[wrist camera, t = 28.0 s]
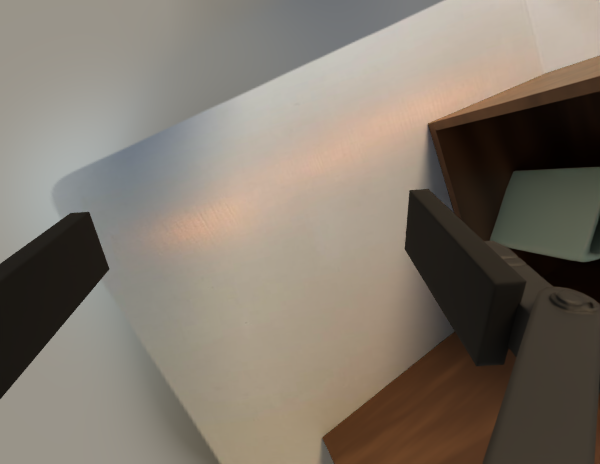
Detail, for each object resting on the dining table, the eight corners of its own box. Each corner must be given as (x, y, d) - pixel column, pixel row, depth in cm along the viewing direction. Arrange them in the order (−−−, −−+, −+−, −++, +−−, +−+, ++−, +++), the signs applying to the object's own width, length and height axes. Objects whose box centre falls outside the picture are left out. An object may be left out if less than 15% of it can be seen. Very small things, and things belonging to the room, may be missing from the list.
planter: (553, 144, 54) (744, 122, 35) (568, 190, 55) (758, 192, 36) (471, 199, 51) (629, 206, 32) (490, 245, 53) (650, 278, 34)
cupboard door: (495, 344, 57) (796, 506, 28) (345, 468, 52) (519, 816, 23) (479, 311, 55) (781, 449, 26) (322, 437, 51) (478, 770, 22)
